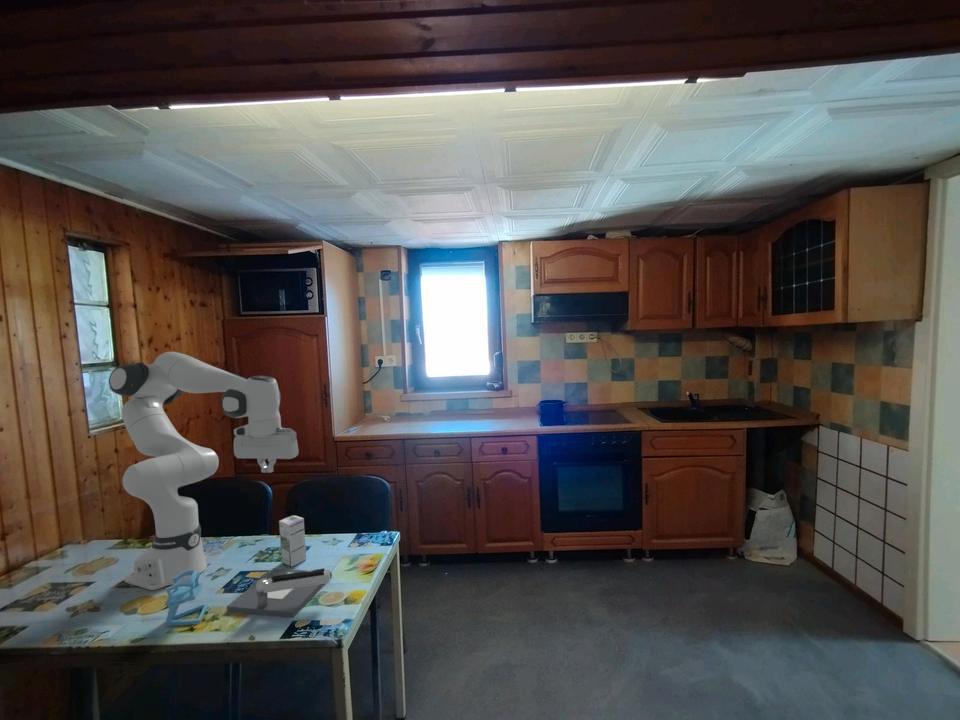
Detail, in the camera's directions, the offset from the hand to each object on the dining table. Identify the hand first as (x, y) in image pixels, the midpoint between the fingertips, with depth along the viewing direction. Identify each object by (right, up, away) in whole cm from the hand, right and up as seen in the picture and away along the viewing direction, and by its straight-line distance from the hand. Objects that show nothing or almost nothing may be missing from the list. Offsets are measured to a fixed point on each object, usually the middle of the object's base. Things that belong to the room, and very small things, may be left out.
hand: (267, 472), depth 125 cm
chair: (-12, -34, -18) cm, 41 cm away
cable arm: (+15, -28, -14) cm, 34 cm away
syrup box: (+4, -33, +10) cm, 35 cm away
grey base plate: (+9, -33, -8) cm, 35 cm away
